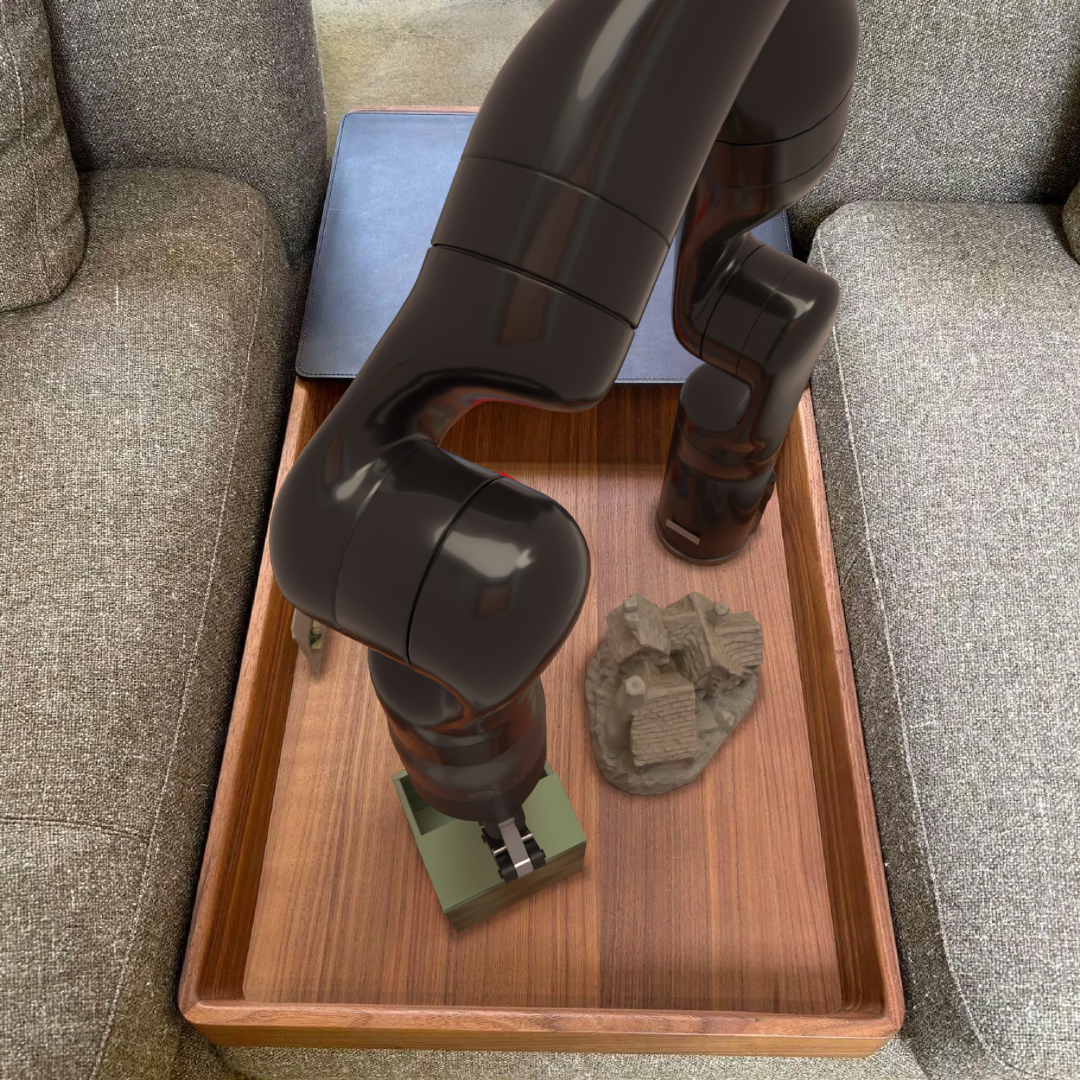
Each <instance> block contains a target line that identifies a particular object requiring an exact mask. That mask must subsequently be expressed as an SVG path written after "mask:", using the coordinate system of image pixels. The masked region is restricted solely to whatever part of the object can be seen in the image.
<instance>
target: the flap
mask: <svg viewBox="0 0 1080 1080" xmlns="http://www.w3.org/2000/svg"><path fill="white" fill-rule="evenodd" d="M522 807H523V810H524V813H525V818H526V820H525V823H526V826H527V827H528V829H529V830H530V831H531V832H532V834H533V836H534V839H535V840H536V842H537V844H538V845H539V847H540V849H543V850H544V853H545V855H546V858H545V860H547V859H549V858H551V857H553V856H555V855H557V854H559V853H562V852H564V851H566V850H568V849H570V848H572V847H574V846H576V845H578V844H580V843H582V842H584V841H588V839H587V837H586V835H585V832H584V830H583V827H582V825H581V823H580V821H579V818H578V816H577V814H576V812H575V809H574V807H573V805H572V802H571V800H570V798H569V796H568V793H567V791H566V789H565V786H564V785H563V782H562V780H561V777H560V775H559V772H557V771H554V772H553V774H550V775H548V776H546V777H544V778H542V779H540V780H539V782H538V784H537V785H536V787H535V788H534V790H533V791H532V793H531V794H530V796H529V797H528V798H527V799H526V801H525V802H524V803H523V804H522ZM482 828H484V826H479V824H478V822H476V821H465V820H459V819H455V820H453V821H451V822H449V823H447V824H445V825H443V826H441V827H439V828H436V829H434V830H432V831H430V832H428V833H426V834H424V835H422V836H420V837H417V838H415V837H414V841H415V844H416V847H417V849H418V851H419V854H420V857H421V858H422V861H423V864H424V867H425V869H426V871H427V874H428V876H429V879H430V881H431V884H432V886H433V889H434V891H435V894H436V896H438V897H437V899H438V901H440V902H439V904H440V907H441V909H443V910H442V912H443V911H445V910H447V909H449V908H451V907H453V906H455V905H457V904H459V903H461V902H463V901H465V900H467V899H469V898H471V897H473V896H475V895H477V894H479V893H481V892H483V891H485V890H487V889H489V888H491V887H493V886H495V885H497V884H499V883H501V882H503V881H504V879H501V878H500V876H499V873H498V870H499V868H498V866H497V864H496V862H495V860H494V858H493V856H492V854H491V852H490V850H489V847H488V845H487V843H485V844H484V842H483V840H482V837H481V835H483V833H482V831H481V829H482Z"/></svg>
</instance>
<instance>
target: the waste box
mask: <svg viewBox="0 0 1080 1080" xmlns="http://www.w3.org/2000/svg"><path fill="white" fill-rule="evenodd" d="M553 773H554V771H553V767H552V766H551V764H550V762H549V761H548V758H547V757H546V762H545V766H544V770H543V773H542V775H541V778H540V779H542V778H544V777H546V776H548V775H550V774H553ZM390 778H391V781H392V784H393V786H394V788H395V791H396V793H397V795H398V796H397V797H398V798H399V801H400V804H401V807H402V809H403V811H404V814H405V817H406V819H407V822H408V825H409V827H410V829H411V832H412V835H413V838H414V839H415V838H417V837H420V836H422V835H424V834H426V833H428V832H430V831H432V830H434V829H436V828H439V827H441V826H443V825H445V824H447V823H449V822H451V821H453V820H455V818H452V817H449V816H446V815H444V814H442V813H440V812H438V811H437V810H435V809H434V808H432V807H431V806H430V805H429V804H427V803H426V802H425V801H424V800H423V799H422V797H421V796H420V795H419V794H418V792H417V791H416V789H415V787H414V786H413V784H412V782H411V780H410V778H409V776H408V774H407V772H406V769H405V768H404V769H403V770H400V771H398V772H396V773H394V774H392V775H390ZM587 845H588V840H586V841H584V842H582V843H580V844H578V845H576V846H574V847H572V848H570V849H568V850H566V851H564V852H562V853H559V854H557V855H555V856H553V857H551V858H549V859H547V860H545V861H546V864H547V865H545V866H543V867H541V868H539V869H537V870H534V871H533V872H531V873H529V874H527V875H525V876H523V877H521V878H518V879H517V880H515V881H513V882H511V883H509V884H506V883H505V881H503V882H501V883H499V884H497V885H495V886H493V887H491V888H489V889H487V890H485V891H483V892H481V893H479V894H477V895H475V896H473V897H471V898H469V899H467V900H465V901H463V902H461V903H459V904H457V905H455V906H453V907H451V908H449V909H447V910H445V911H443V909H442V908H441V909H442V912H443V914H444V915H445V917H446V918H447V920H448V922H449V923H450V924H451V926H452V927H453V928H454V930H455V932H456V933H458V934H459V933H461V932H463V931H464V930H466V929H469V928H471V927H473V926H474V925H475V926H476V925H477V924H478V923H480V922H482V921H485V920H486V919H488V918H490V917H493V916H495V915H496V914H499V913H500V912H503V911H504V910H507V909H509V908H510V907H512V906H514V905H516V904H518V903H520V902H522V901H524V900H526V899H529V898H530V897H532V896H535V895H536V894H538V893H540V892H542V891H544V890H546V889H548V888H550V887H552V886H554V885H556V884H558V883H561V882H562V881H564V880H567V879H568V878H570V877H572V876H574V875H576V874H578V873H580V872H582V871H583V868H584V862H585V858H586V857H585V856H586V850H587ZM436 896H437V895H436ZM437 898H438V896H437ZM438 901H439V900H438ZM439 903H440V901H439Z"/></svg>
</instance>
